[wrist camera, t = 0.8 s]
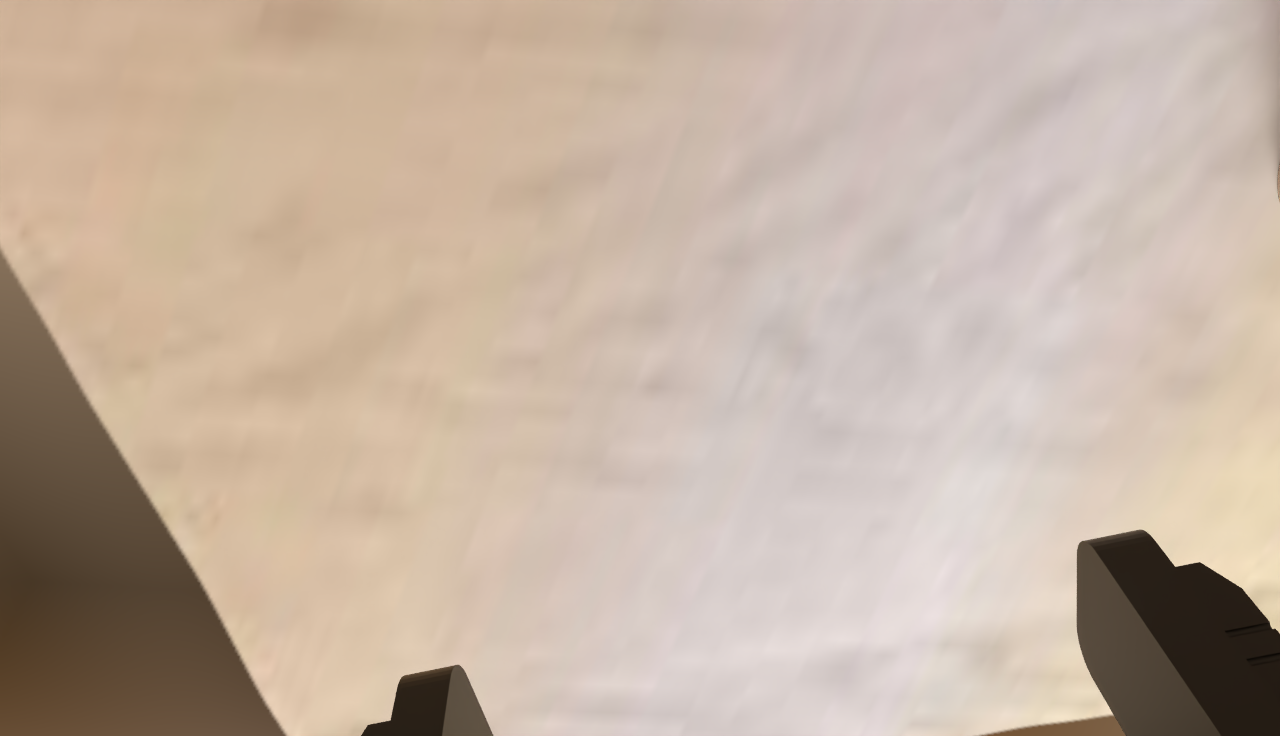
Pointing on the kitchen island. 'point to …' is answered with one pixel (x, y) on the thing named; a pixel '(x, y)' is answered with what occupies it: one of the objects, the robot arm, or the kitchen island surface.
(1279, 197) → the white cylinder
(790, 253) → the kitchen island surface
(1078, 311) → the kitchen island surface
